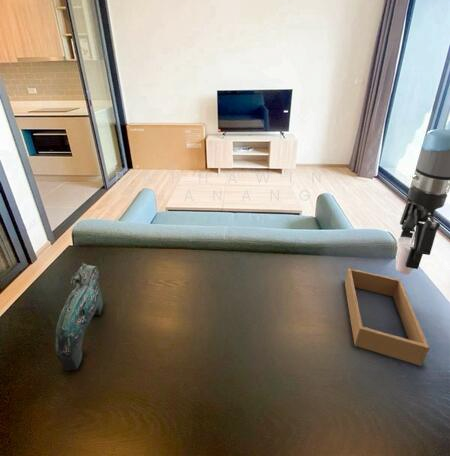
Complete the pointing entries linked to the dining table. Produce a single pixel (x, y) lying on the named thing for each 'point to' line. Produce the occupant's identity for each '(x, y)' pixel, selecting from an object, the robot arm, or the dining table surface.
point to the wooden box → (380, 341)
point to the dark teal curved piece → (77, 316)
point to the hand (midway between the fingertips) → (406, 258)
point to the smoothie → (404, 254)
